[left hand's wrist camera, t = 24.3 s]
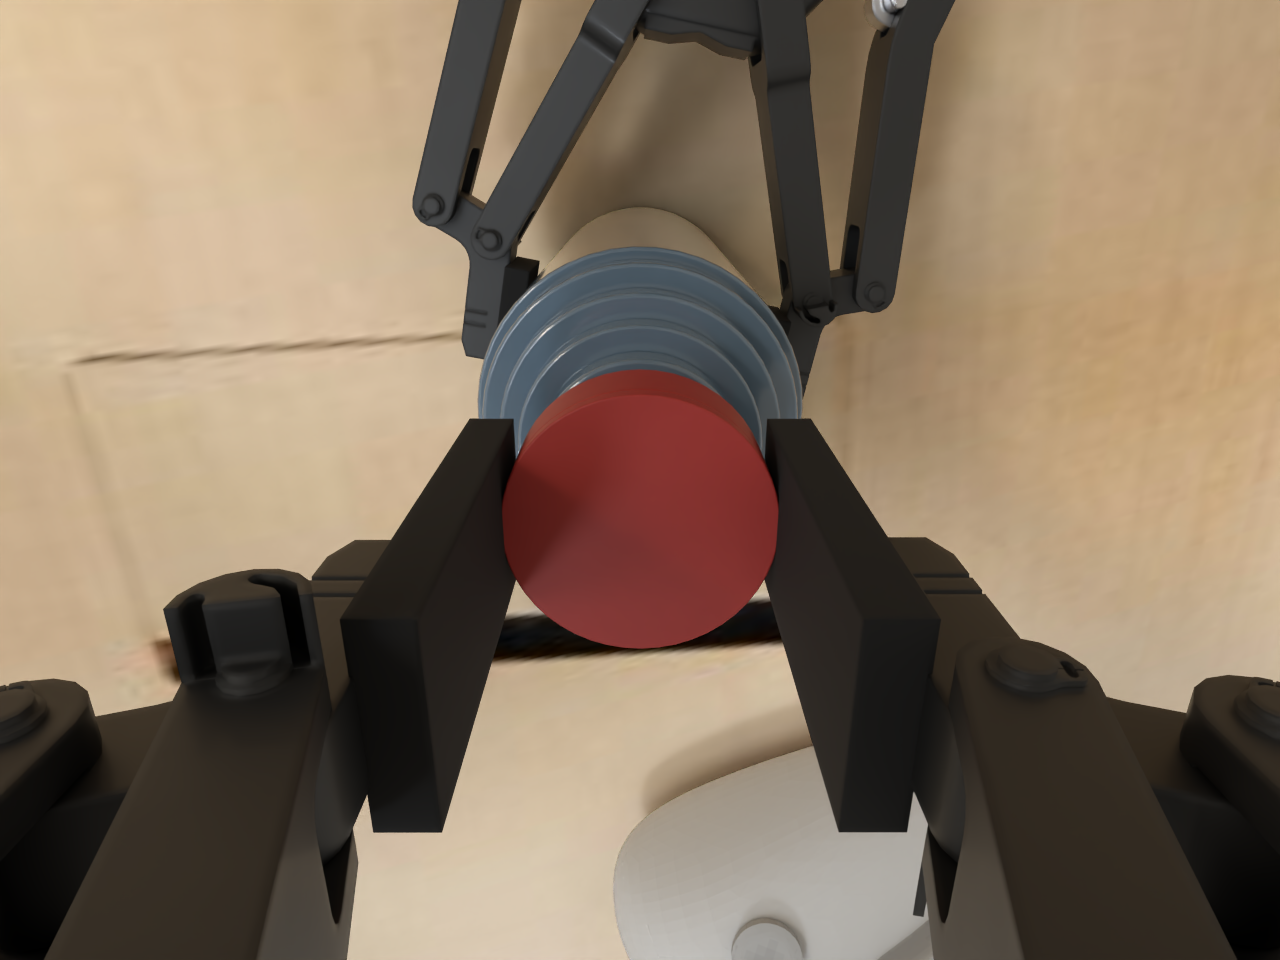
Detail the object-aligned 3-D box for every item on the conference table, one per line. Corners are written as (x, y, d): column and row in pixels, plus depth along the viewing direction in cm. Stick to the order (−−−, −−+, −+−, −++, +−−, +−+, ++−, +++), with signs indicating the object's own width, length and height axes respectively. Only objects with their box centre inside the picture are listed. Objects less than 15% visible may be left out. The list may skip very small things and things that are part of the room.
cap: (775, 585, 15) (790, 632, 14) (539, 614, 15) (529, 664, 14) (753, 351, 13) (768, 375, 12) (491, 388, 14) (472, 416, 12)
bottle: (768, 265, 32) (956, 422, 13) (677, 426, 34) (722, 756, 15) (598, 170, 30) (530, 191, 12) (515, 344, 33) (349, 595, 14)
